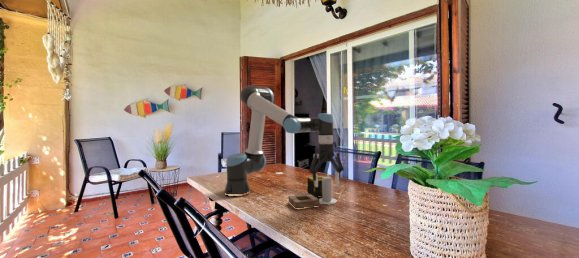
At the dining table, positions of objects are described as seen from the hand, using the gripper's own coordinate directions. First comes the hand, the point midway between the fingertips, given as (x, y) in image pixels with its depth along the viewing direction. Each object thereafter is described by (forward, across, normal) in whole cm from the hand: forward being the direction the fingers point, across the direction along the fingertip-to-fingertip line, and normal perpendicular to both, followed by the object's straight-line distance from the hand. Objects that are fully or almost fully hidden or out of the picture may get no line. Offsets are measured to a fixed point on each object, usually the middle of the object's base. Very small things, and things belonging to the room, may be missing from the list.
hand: (326, 185), depth 140 cm
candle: (+9, +1, +14) cm, 16 cm away
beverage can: (+8, 0, 0) cm, 8 cm away
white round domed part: (+9, 0, 0) cm, 9 cm away
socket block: (+9, -13, 0) cm, 16 cm away
